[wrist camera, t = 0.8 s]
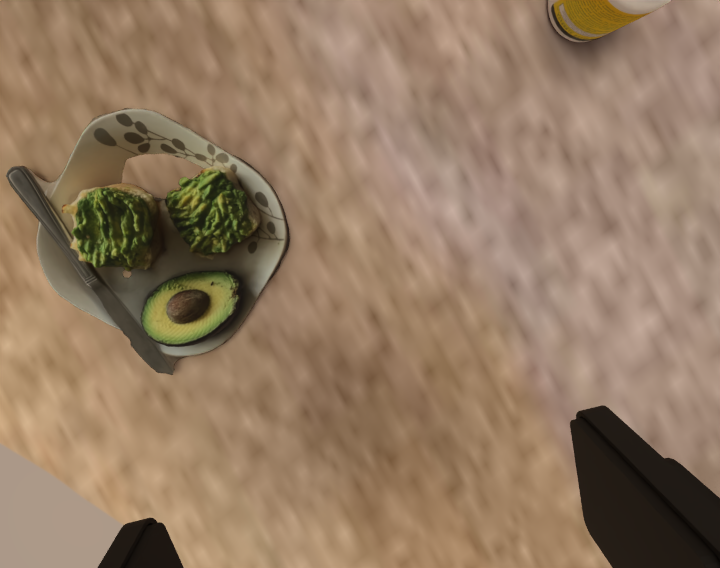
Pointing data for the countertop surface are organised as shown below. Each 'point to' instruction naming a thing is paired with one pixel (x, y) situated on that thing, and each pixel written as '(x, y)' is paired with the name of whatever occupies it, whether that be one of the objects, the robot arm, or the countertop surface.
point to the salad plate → (156, 236)
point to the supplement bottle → (596, 16)
